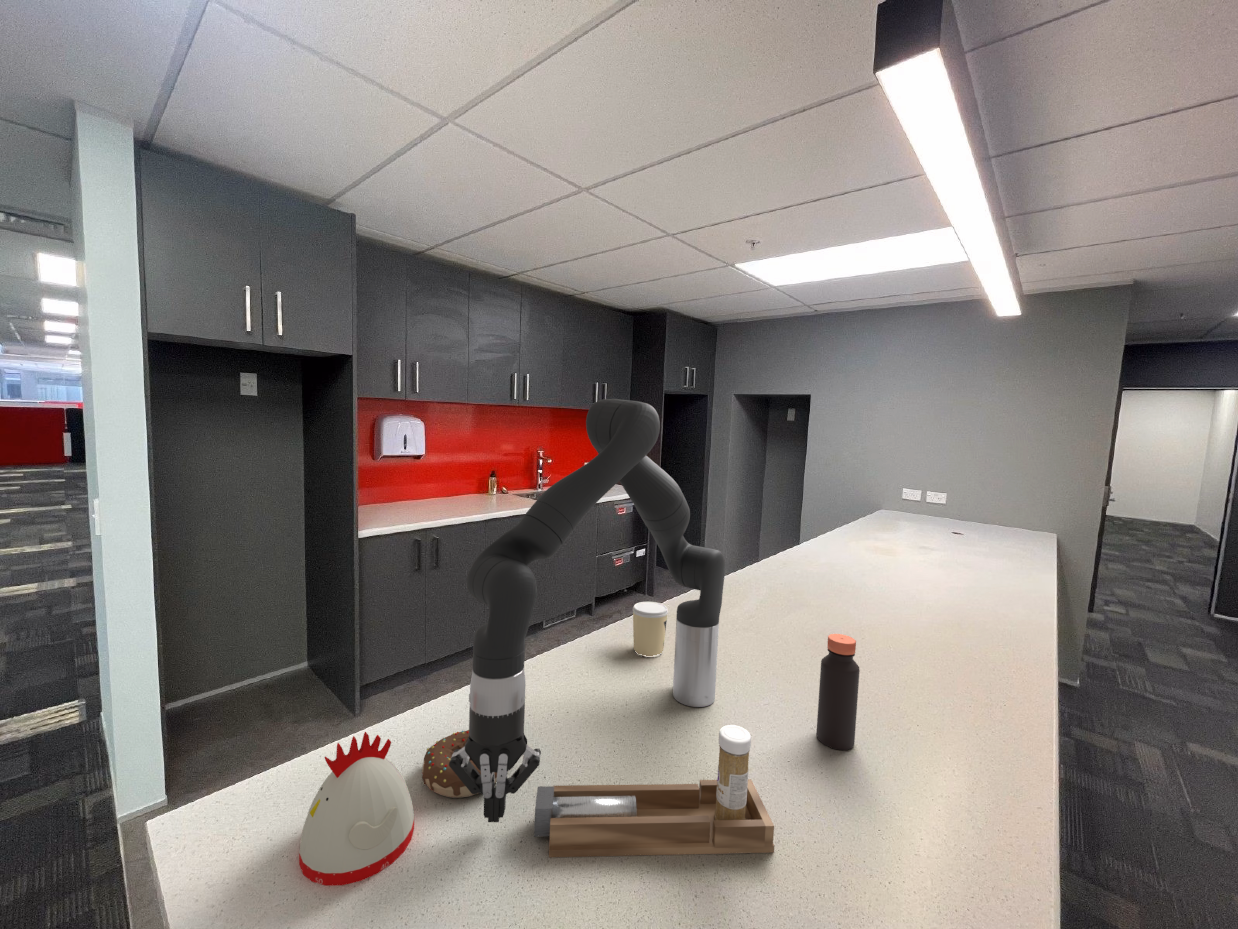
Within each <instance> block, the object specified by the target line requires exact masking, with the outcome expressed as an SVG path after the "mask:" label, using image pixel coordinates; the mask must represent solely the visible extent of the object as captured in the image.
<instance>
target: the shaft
mask: <svg viewBox="0 0 1238 929" xmlns="http://www.w3.org/2000/svg"><path fill="white" fill-rule="evenodd" d="M554 786H555V785H552V786H545V785H543V786H537V790H536V799H535V806H534V826H533V827H534V831H533V837H550V820H551V818H587V817H637V808H636V797H635V796H575V797H554Z"/></svg>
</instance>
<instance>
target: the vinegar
mask: <svg viewBox="0 0 1238 929" xmlns="http://www.w3.org/2000/svg"><path fill="white" fill-rule="evenodd" d="M856 645H857V640H856V639H855V638H853V637H851V636H849V635H846V634H842V633H831V634H829V635H827V647H826V648H827V651H828V654H827V655H825V656H824V657H823V658H822V659H821V661H820V671H819V673H820V674H819V688H818V690H819V691H818V704H817V718H816V737H817V739H818V740H819V741H820V742H821V744H823V745H824V746H826V747H828V748H830V749H834V750H837V751H848V750H850V749H852V748H853V747H854V745H855V743H856V741H855V740H856V728H857V715H858V714H857V713H858V712H857V711H858V698H859V696H858V695H859V683H860V666H859V664H858V663H857V662H856V661H855V660H854V657H855V655H856V649H857V648H856Z"/></svg>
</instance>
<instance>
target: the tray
mask: <svg viewBox="0 0 1238 929" xmlns="http://www.w3.org/2000/svg"><path fill="white" fill-rule="evenodd" d="M553 786H554V797H575V796H635V797H636V808H637V817H587V818H551V820H550V836H549V844H548V846H549V849H548V858H582V857H590V858H591V857H627V856H628V857H629V856H630V857H631V856H636V857H637V856H667V855H668V856H671V855H673V856H674V855H675V856H676V855H713V854H714V855H715V854H716V855H719V854H721V855H722V854H723V855H724V854H760V853H761V854H762V853H763V854H764V853H766V854H767V853H771V854H772V853H775V844H774V836H775V835H774V833H775V832H774V831H775V825H774V823H773V820H772V819H771V817H770V815H769V812H768V811H767V809H766V806H765V805H764V803H763V800H762V798H761V796H760V794H759V793H758V790H757V788H756V786H755V784H754V782H753V780H752V778H751V779H750V778H748V786H747V801H746V809H745V819H746V820H715V810H716V798H717V797H716V791H717V779H699V784H698V783H666V784H665V783H664V784H663V783H662V784H660V783H659V784H657V783H656V784H655V783H654V784H594V785H593V784H587V785H586V784H583V785H581V784H580V785H579V784H578V785H576V784H575V785H572V784H571V785H568V784H566V785H553Z"/></svg>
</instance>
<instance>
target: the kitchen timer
mask: <svg viewBox="0 0 1238 929" xmlns="http://www.w3.org/2000/svg"><path fill="white" fill-rule="evenodd" d="M380 744H381V737H380V735H379V734H377V735H376V736H375V737H374V739H373V741H372V743H371V741H370V736H369V733H368V732H367V731H364V733H363V736H362V739H361V744H360V748H359V747H358V741H357V738H356V737H355V735H353V736H352V738H351V742H350V745H349V751H348V753H347V754H345V752H344V749H343V747H342V746H341V744H340V743H339V742H337V745H336V754H335V755H336V756H335V759H334V760H331V759H330V758H329V757H327V756H324V760H325V762H326V765H327V766H328V768H329V769H330V770H331V772H330V774H329V775H327V777H326V778H325V780H324V781H323V782H322V784H321V785H320V787H319V789H318V790H317V793H316V795H315V796H314V798H313V800H312V802H311V805H310V806H309V810H308V813H307V815H306V817H305V821H304V824H303V827H302V831H301V836H300V843H299V852H298V855H299V856H298V858H299V860H298V863H299V867H300V870H301V873H302V875H303V876H304V877H305V878H307V879H308V880H309V881H310V882H312V883H315V884H318V885H322V886H345V885H349V884H353V883H359V882H362V881H364V880H366V879H368V878H370V877H373V876H375V875H378V874H379V873H381V872H382V871H383V870H385V869H387V868H388V867H389V866H390V865H393V863H394V862H396V860H398V859H399V858H400V857H401V855H403V854H404V852H405V851H406V849H407V848H408V846H409V844H410V843H411V841H412V838H413V834H414V831H415V812H414V807H413V802H412V796H411V794H410V791H409V788H408V786H407V782H406V780H405V778H404V776H403V774H402V773H401V771H399V770H398V767H397V766H396V765H395V764H394V763H393V762H392V761H391V760H390V759H388V758H386V757H387V755H388V754H389V750H390V747H391V745H392V741H391V739H390V738H387V740H386V742H385V743H384V745H383V746H382V748H381V749H380V750H379V748H380Z"/></svg>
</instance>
